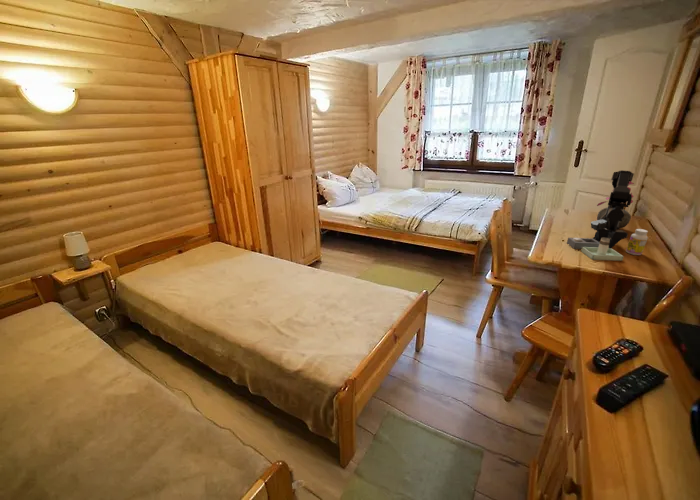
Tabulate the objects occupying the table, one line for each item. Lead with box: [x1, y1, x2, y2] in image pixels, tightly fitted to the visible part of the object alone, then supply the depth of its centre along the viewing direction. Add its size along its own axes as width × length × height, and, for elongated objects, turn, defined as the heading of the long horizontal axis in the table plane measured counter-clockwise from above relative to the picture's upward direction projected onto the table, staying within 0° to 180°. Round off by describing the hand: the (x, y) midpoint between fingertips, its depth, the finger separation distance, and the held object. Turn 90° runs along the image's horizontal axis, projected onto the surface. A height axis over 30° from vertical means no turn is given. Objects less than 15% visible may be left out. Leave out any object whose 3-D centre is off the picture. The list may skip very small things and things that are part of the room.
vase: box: [596, 181, 635, 230], centre depth 200 cm, size 17×18×30 cm
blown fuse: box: [596, 237, 610, 255], centre depth 164 cm, size 4×4×9 cm
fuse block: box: [566, 237, 600, 250], centre depth 178 cm, size 13×8×4 cm, turn 82°
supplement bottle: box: [625, 228, 649, 256], centre depth 167 cm, size 7×7×13 cm
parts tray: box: [580, 247, 625, 262], centre depth 166 cm, size 14×11×2 cm
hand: (604, 244), depth 164 cm, fingers open, 9 cm apart
